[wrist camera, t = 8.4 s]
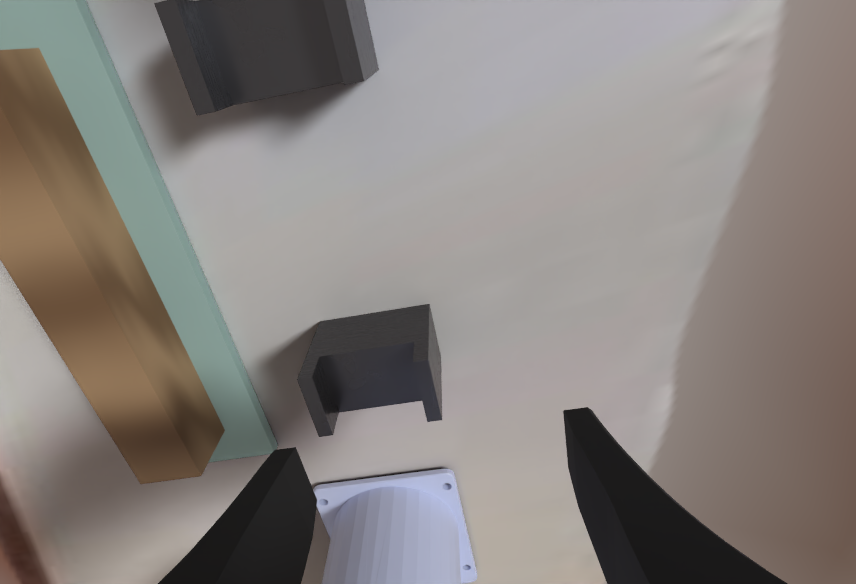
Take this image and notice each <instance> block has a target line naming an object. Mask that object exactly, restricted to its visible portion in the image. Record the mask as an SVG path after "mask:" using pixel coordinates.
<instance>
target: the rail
mask: <svg viewBox="0 0 856 584" xmlns="http://www.w3.org/2000/svg"><path fill="white" fill-rule="evenodd" d="M0 260H1V261H2V263H3V264H4V266H5V268H6V269H7V271H8V272H9V274H10V276H11V277H12V279H13V280H14V282H15V284H16V285H17V287H18V288H19V290H20V292H21V293H22V295H23V296H24V298H25V300H26V301H27V303H28V304H29V306H30V308H31V309H32V311H33V312H34V314H35V316H36V317H37V319H38V320H39V322H40V324H41V325H42V327H43V328H44V330H45V332H46V333H47V335H48V336H49V338H50V340H51V341H52V343H53V344H54V346H55V348H56V349H57V351H58V352H59V354H60V356H61V357H62V359H63V360H64V362H65V364H66V365H67V367H68V368H69V370H70V372H71V373H72V375H73V377H74V378H75V380H76V381H77V383H78V385H79V386H80V388H81V389H82V391H83V393H84V394H85V396H86V397H87V399H88V401H89V402H90V404H91V405H92V407H93V409H94V410H95V412H96V413H97V415H98V417H99V418H100V420H101V421H102V423H103V425H104V426H105V428H106V429H107V431H108V433H109V434H110V436H111V437H112V439H113V441H114V442H115V444H116V445H117V447H118V449H119V450H120V452H121V453H122V455H123V457H124V458H125V460H126V461H127V463H128V465H129V466H130V468H131V469H132V471H133V473H134V474H135V476H136V477H137V479H138V481H139V482H140V484H145V483H153V482H160V481H168V480H175V479H183V478H190V477H198V476H201V475H202V474H203V472H204V470H205V468H206V466H207V464H208V462H209V460H210V458H211V456H212V454H213V452H214V451H215V449H216V447H217V445H218V443H219V441H220V439H221V437H222V435H223V433H224V431H225V429H224V427H223V425H222V423H221V421H220V419H219V417H218V415H217V413H216V411H215V409H214V407H213V405H212V403H211V400H210V398H209V396H208V394H207V392H206V390H205V388H204V386H203V384H202V382H201V380H200V378H199V376H198V374H197V372H196V370H195V368H194V366H193V363H192V361H191V359H190V357H189V355H188V353H187V351H186V349H185V347H184V345H183V343H182V341H181V339H180V337H179V335H178V333H177V331H176V329H175V326H174V324H173V322H172V320H171V318H170V316H169V314H168V312H167V310H166V308H165V306H164V304H163V302H162V300H161V298H160V296H159V294H158V292H157V289H156V287H155V285H154V283H153V281H152V279H151V277H150V275H149V273H148V271H147V269H146V267H145V265H144V263H143V261H142V259H141V257H140V255H139V252H138V250H137V248H136V246H135V244H134V242H133V240H132V238H131V236H130V234H129V232H128V230H127V228H126V226H125V224H124V222H123V220H122V218H121V215H120V213H119V211H118V209H117V207H116V205H115V203H114V201H113V199H112V197H111V195H110V193H109V191H108V189H107V187H106V185H105V183H104V181H103V178H102V176H101V174H100V172H99V170H98V168H97V166H96V164H95V162H94V160H93V158H92V156H91V154H90V152H89V150H88V148H87V146H86V144H85V141H84V139H83V137H82V135H81V133H80V131H79V129H78V127H77V125H76V123H75V121H74V119H73V117H72V115H71V113H70V111H69V109H68V107H67V104H66V102H65V100H64V98H63V96H62V94H61V92H60V90H59V88H58V86H57V84H56V82H55V80H54V78H53V76H52V74H51V72H50V70H49V67H48V65H47V63H46V61H45V59H44V57H43V55H42V53H41V51H40V49H39V48H29V49H9V50H0Z"/></svg>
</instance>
